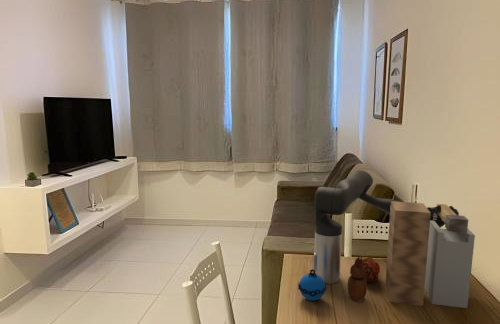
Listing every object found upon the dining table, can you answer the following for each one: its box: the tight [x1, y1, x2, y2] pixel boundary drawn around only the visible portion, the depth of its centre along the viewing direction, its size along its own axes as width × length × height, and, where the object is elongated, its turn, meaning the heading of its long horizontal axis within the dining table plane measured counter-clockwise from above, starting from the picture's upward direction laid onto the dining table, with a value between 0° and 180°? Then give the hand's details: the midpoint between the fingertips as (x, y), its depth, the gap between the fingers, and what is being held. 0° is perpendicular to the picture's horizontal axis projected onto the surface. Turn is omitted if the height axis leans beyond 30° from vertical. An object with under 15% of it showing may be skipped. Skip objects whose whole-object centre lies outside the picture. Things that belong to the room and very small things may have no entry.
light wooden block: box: [436, 203, 469, 233], centre depth 120 cm, size 5×20×4 cm, turn 166°
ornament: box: [297, 268, 327, 301], centre depth 118 cm, size 9×9×10 cm
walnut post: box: [384, 201, 431, 307], centre depth 119 cm, size 10×11×30 cm
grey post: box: [424, 221, 476, 309], centre depth 119 cm, size 10×12×24 cm
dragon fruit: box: [362, 256, 381, 283], centre depth 132 cm, size 8×8×12 cm
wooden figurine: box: [347, 255, 367, 302], centre depth 118 cm, size 7×6×15 cm
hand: (445, 208), depth 124 cm, fingers closed on light wooden block, 3 cm apart
